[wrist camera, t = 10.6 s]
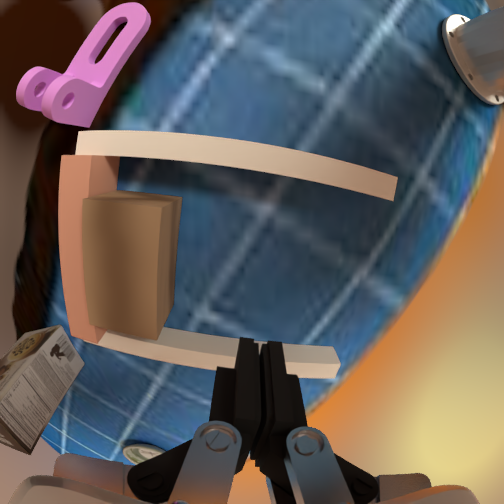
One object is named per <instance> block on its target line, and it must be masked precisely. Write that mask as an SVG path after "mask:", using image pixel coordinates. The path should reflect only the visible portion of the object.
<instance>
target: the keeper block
mask: <svg viewBox="0 0 504 504" xmlns="http://www.w3.org/2000/svg"><path fill="white" fill-rule="evenodd" d="M181 205H182V197H178V196H169V195H161V194H152V193H143V192H133V191H123V190H117V191H112V192H108V193H104V194H100V195H96V196H92V197H88V198H85V199H83V205H82V250H83V269H84V282H85V293H86V302H87V310H88V317H89V324H90V325H94V326H97V327H101V328H105V329H109V330H112V331H116V332H120V333H124V334H129V335H133V336H137V337H142V338H146V339H151V340H156V341H157V340H158V337H159V335H160V333H161V331H162V329H163V326H164V324H165V322H166V320H167V318H168V315H169V313H170V311H171V309H172V307H173V305H174V289H175V272H176V258H177V245H178V234H179V224H180V214H181Z"/></svg>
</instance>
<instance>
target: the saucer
mask: <svg viewBox="0 0 504 504" xmlns="http://www.w3.org/2000/svg"><path fill="white" fill-rule="evenodd" d="M164 452H166V451H164V450H162V449H161V448H159V447H156V446H153V445H149V444H133V445H129V446H126V447H125V448H124V449H123V454H124V456H125V457H126V458H127V459H128V460H129V461H131V462H132V463H134V464H136V465H137V464H139V463H141V462H143V461H146V460H148V459H151V458H153V457H155V456H157V455H160V454H162V453H164Z"/></svg>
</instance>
